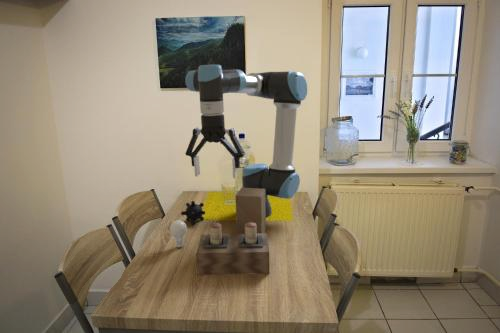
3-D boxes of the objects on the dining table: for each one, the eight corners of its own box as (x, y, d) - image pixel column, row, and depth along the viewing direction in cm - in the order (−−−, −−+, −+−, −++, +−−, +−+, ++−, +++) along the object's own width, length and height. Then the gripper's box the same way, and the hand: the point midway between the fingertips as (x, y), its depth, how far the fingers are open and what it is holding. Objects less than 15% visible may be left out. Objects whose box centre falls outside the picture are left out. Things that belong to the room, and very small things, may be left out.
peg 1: (214, 244, 132) (213, 222, 130) (224, 246, 130) (223, 224, 128) (208, 249, 129) (207, 226, 126) (217, 251, 127) (216, 228, 124)
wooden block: (261, 245, 143) (261, 196, 138) (236, 243, 145) (235, 195, 140) (265, 234, 153) (265, 188, 148) (242, 232, 155) (241, 187, 150)
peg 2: (248, 243, 132) (248, 221, 130) (258, 246, 130) (258, 223, 128) (243, 248, 129) (242, 225, 126) (253, 251, 127) (252, 228, 124)
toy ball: (212, 210, 172) (209, 213, 160) (196, 226, 172) (192, 231, 160) (195, 194, 172) (191, 196, 160) (179, 210, 172) (174, 214, 160)
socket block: (197, 274, 124) (196, 251, 122) (202, 254, 138) (201, 232, 135) (269, 273, 124) (269, 250, 122) (267, 253, 138) (267, 231, 135)
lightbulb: (179, 242, 148) (178, 216, 145) (191, 246, 144) (189, 219, 141) (167, 248, 143) (165, 221, 140) (179, 252, 139) (177, 225, 136)
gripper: (172, 115, 121) (177, 177, 127) (246, 116, 114) (248, 181, 120) (181, 112, 127) (186, 171, 133) (252, 112, 121) (254, 174, 127)
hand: (216, 176), depth 127 cm, fingers open, 13 cm apart
